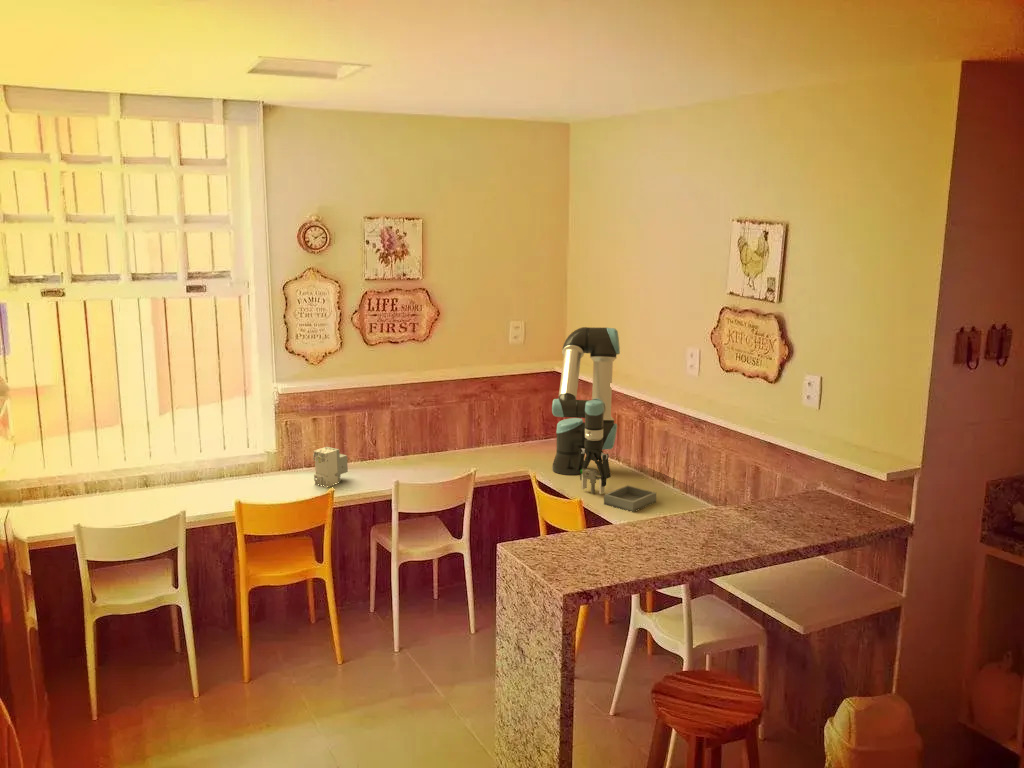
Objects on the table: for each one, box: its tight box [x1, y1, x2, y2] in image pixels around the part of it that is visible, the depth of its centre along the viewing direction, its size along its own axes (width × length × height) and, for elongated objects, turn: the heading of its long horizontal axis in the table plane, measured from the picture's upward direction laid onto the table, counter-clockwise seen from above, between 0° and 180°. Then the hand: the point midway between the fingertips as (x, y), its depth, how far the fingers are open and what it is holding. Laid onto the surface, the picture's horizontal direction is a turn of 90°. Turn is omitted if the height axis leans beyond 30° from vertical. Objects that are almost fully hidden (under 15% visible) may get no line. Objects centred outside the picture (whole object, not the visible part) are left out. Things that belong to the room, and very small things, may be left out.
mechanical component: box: [580, 468, 601, 494], centre depth 368 cm, size 3×10×10 cm, turn 79°
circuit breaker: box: [312, 446, 349, 488], centre depth 383 cm, size 8×14×15 cm, turn 146°
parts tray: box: [603, 484, 657, 513], centre depth 357 cm, size 16×14×4 cm
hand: (592, 490), depth 368 cm, fingers closed on mechanical component, 9 cm apart
